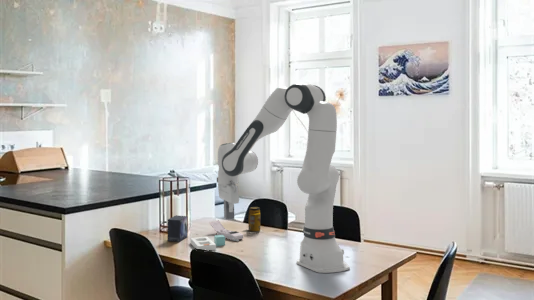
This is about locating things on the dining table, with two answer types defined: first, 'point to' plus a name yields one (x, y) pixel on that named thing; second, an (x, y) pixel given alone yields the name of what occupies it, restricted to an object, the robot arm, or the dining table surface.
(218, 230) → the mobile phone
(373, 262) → the dining table surface
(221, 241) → the teal cube
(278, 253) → the dining table surface
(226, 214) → the block
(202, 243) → the power strip
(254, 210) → the condiment
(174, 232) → the small box
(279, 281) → the dining table surface
